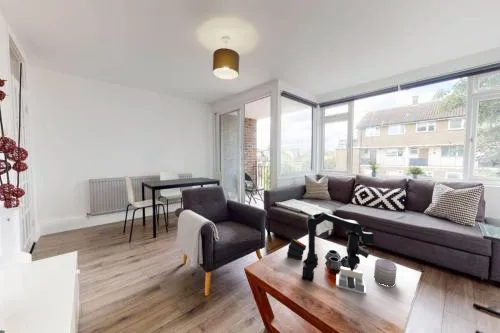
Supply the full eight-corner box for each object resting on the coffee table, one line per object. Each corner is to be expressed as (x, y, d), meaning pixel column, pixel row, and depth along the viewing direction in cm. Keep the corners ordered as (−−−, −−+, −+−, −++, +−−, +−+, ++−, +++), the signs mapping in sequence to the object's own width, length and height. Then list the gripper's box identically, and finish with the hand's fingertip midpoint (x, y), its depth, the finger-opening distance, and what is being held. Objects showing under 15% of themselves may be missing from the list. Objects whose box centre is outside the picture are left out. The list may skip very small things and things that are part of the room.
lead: (354, 289, 118) (355, 283, 118) (347, 287, 119) (348, 281, 119) (352, 273, 133) (352, 268, 133) (346, 272, 135) (346, 267, 134)
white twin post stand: (336, 286, 122) (336, 278, 121) (336, 275, 133) (336, 268, 132) (366, 294, 116) (367, 286, 115) (363, 282, 127) (364, 274, 126)
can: (398, 284, 126) (400, 265, 125) (389, 289, 120) (391, 270, 120) (379, 274, 136) (381, 257, 135) (369, 278, 130) (371, 261, 129)
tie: (340, 274, 125) (340, 268, 125) (340, 272, 128) (340, 266, 127) (362, 280, 121) (362, 273, 120) (361, 277, 123) (362, 271, 123)
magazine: (283, 252, 157) (292, 237, 154) (298, 263, 154) (308, 247, 151) (282, 255, 153) (292, 239, 150) (298, 265, 150) (308, 249, 147)
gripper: (371, 252, 111) (368, 279, 112) (366, 239, 128) (364, 262, 129) (348, 247, 115) (346, 273, 116) (347, 235, 132) (345, 258, 133)
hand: (351, 266), depth 124 cm, fingers open, 9 cm apart
